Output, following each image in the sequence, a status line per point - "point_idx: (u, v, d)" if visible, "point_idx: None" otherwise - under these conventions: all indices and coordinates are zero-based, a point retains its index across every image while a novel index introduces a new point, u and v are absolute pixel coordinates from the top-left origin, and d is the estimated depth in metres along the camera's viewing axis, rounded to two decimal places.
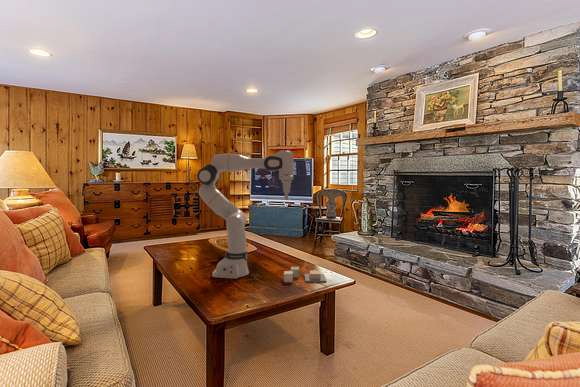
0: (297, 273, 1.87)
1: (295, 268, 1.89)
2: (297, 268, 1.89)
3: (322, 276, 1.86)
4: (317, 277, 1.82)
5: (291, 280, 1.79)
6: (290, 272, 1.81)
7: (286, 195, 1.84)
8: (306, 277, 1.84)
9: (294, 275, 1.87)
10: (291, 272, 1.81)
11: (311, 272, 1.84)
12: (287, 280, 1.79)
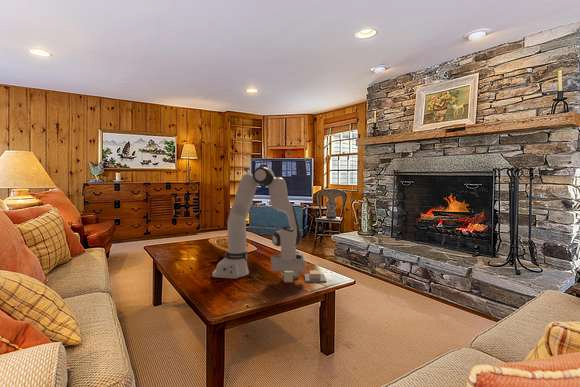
0: (297, 273, 1.87)
1: None
2: None
3: (322, 276, 1.86)
4: (317, 277, 1.82)
5: (291, 280, 1.79)
6: (290, 272, 1.81)
7: None
8: (306, 277, 1.84)
9: None
10: (291, 272, 1.81)
11: (311, 272, 1.84)
12: (287, 280, 1.79)
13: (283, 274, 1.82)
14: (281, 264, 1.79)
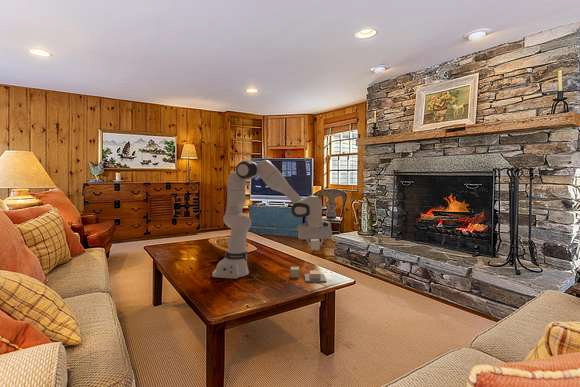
0: (297, 273, 1.87)
1: (295, 268, 1.89)
2: (297, 268, 1.89)
3: (322, 276, 1.86)
4: (317, 277, 1.82)
5: (318, 247, 1.80)
6: (317, 240, 1.83)
7: None
8: (306, 277, 1.84)
9: (294, 275, 1.87)
10: (318, 240, 1.83)
11: (311, 272, 1.84)
12: (314, 248, 1.80)
13: None
14: (307, 232, 1.80)
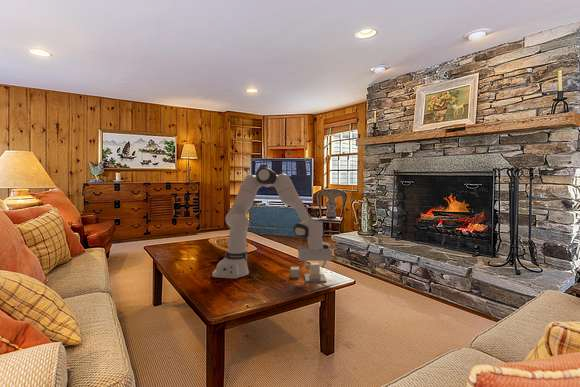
0: (297, 273, 1.87)
1: (295, 268, 1.89)
2: (297, 268, 1.89)
3: (322, 276, 1.86)
4: (317, 277, 1.82)
5: (318, 271, 1.82)
6: (317, 264, 1.84)
7: None
8: (306, 277, 1.84)
9: (294, 275, 1.87)
10: (318, 264, 1.84)
11: None
12: (314, 271, 1.82)
13: (307, 264, 1.85)
14: (308, 254, 1.82)
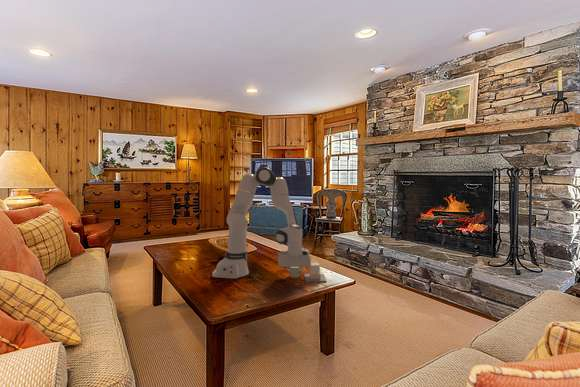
0: (297, 273, 1.87)
1: (295, 268, 1.89)
2: (297, 268, 1.89)
3: (322, 276, 1.86)
4: (317, 277, 1.82)
5: (318, 271, 1.82)
6: (317, 264, 1.84)
7: None
8: (306, 277, 1.84)
9: (294, 275, 1.87)
10: (318, 264, 1.84)
11: None
12: (314, 271, 1.82)
13: (290, 270, 1.90)
14: (287, 260, 1.87)
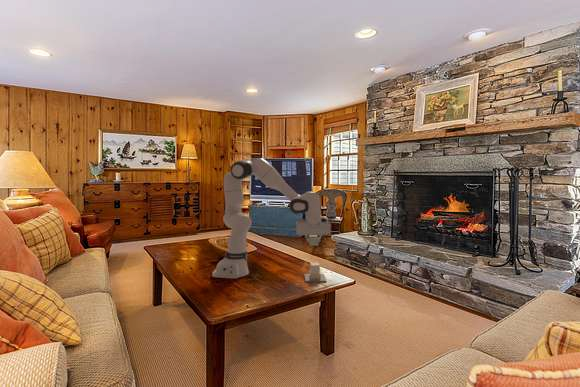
0: (316, 241, 1.81)
1: (314, 236, 1.82)
2: (316, 236, 1.82)
3: (322, 276, 1.86)
4: (317, 277, 1.82)
5: (318, 271, 1.82)
6: (317, 264, 1.84)
7: None
8: (306, 277, 1.84)
9: (313, 243, 1.81)
10: (318, 264, 1.84)
11: None
12: (314, 271, 1.82)
13: None
14: (306, 228, 1.81)
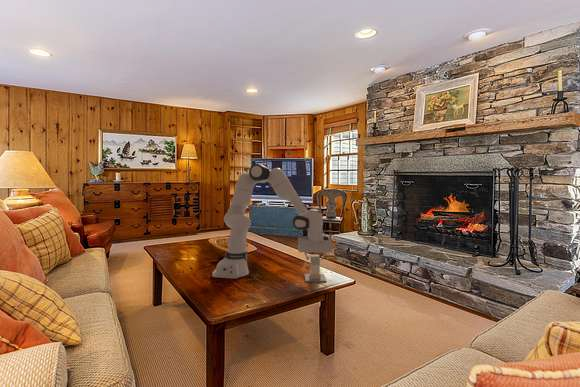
0: (318, 261, 1.81)
1: (315, 256, 1.83)
2: (317, 256, 1.83)
3: (322, 276, 1.86)
4: (317, 277, 1.82)
5: (318, 271, 1.82)
6: None
7: None
8: (306, 277, 1.84)
9: (315, 263, 1.81)
10: None
11: None
12: (314, 271, 1.82)
13: (308, 256, 1.84)
14: (308, 245, 1.81)
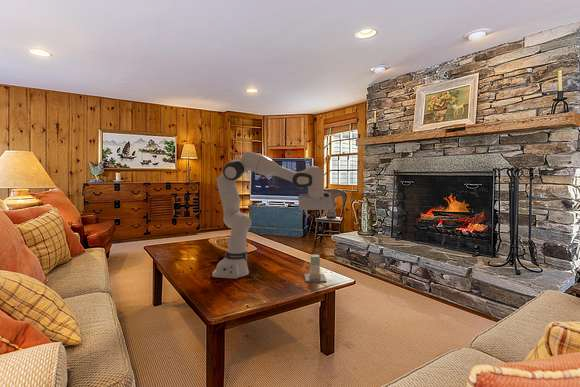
0: (318, 261, 1.81)
1: (315, 256, 1.83)
2: (317, 256, 1.83)
3: (322, 276, 1.86)
4: (317, 277, 1.82)
5: (318, 271, 1.82)
6: None
7: None
8: (306, 277, 1.84)
9: (315, 263, 1.81)
10: None
11: None
12: (314, 271, 1.82)
13: (308, 214, 1.82)
14: (308, 203, 1.79)
